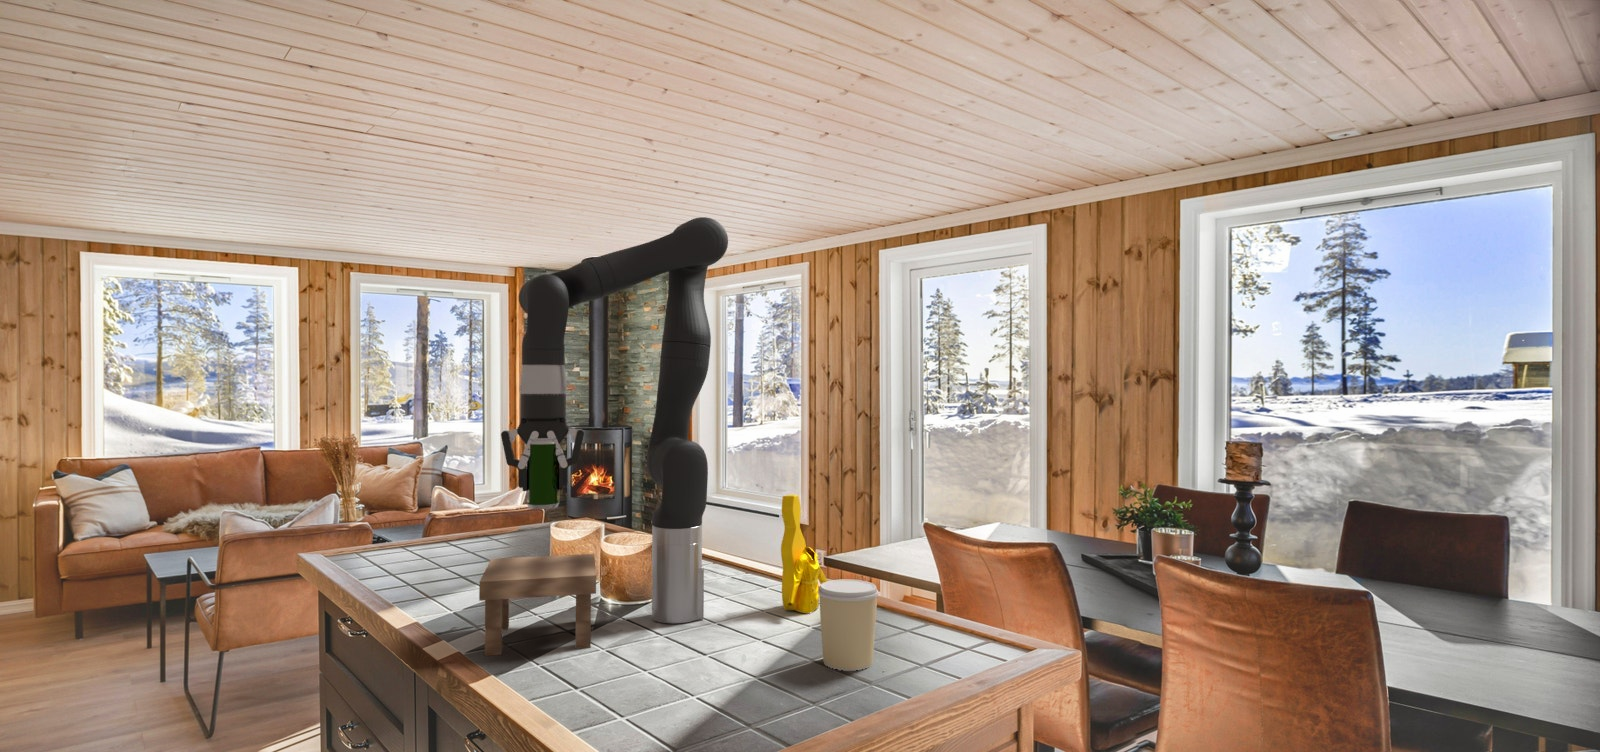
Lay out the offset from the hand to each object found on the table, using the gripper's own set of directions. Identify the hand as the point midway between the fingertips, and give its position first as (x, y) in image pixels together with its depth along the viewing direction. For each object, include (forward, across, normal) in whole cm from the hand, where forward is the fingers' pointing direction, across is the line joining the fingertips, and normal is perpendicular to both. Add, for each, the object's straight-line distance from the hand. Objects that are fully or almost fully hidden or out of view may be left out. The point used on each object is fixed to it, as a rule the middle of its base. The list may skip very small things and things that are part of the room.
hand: (543, 489), depth 141 cm
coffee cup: (+26, -46, +26) cm, 59 cm away
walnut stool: (+25, 0, 0) cm, 25 cm away
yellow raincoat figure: (+26, -48, -6) cm, 55 cm away
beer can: (+3, 0, 0) cm, 3 cm away
